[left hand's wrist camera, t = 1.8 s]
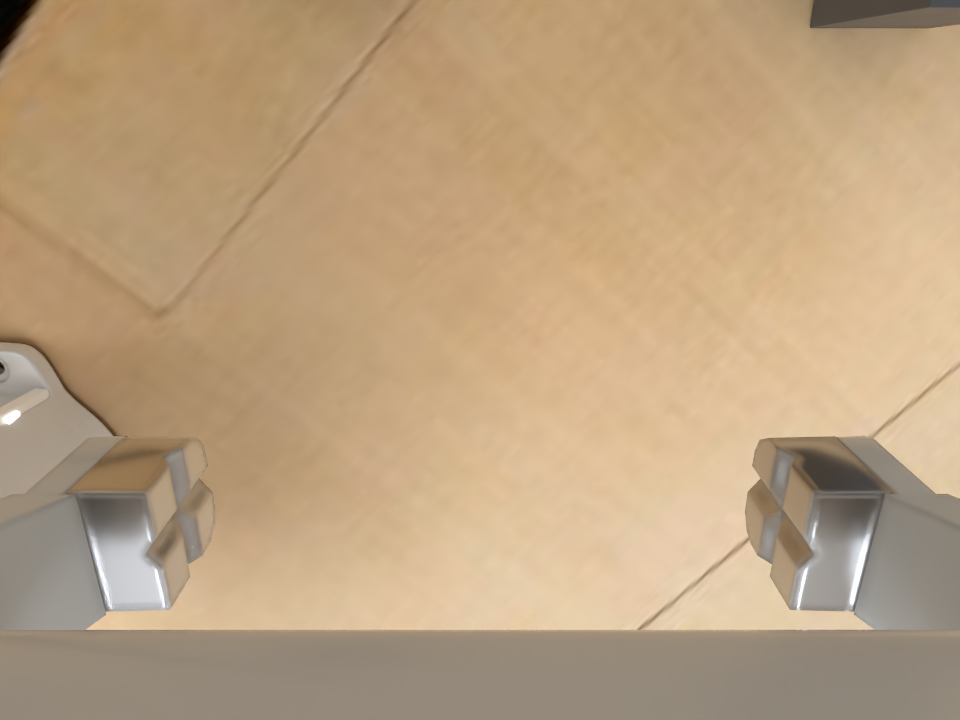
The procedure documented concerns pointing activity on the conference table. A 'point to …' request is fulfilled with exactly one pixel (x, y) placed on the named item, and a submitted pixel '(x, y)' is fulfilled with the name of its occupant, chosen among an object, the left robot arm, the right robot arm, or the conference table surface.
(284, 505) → the conference table surface
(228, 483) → the conference table surface
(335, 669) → the left robot arm
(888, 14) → the bar
